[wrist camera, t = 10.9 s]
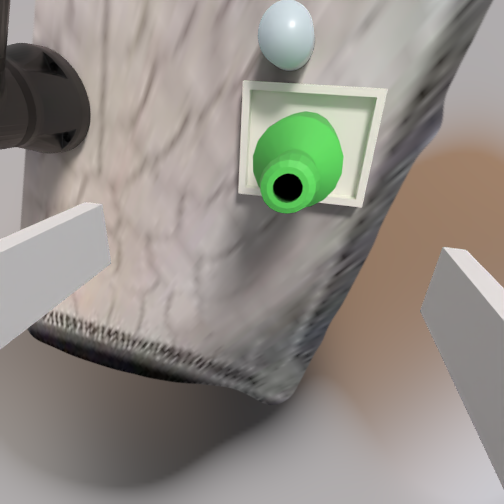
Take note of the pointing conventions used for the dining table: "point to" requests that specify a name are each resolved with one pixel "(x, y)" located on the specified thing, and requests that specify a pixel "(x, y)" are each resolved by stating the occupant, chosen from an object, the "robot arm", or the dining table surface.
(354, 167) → the tray
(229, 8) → the dining table surface
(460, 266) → the robot arm
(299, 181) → the bottle
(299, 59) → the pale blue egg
